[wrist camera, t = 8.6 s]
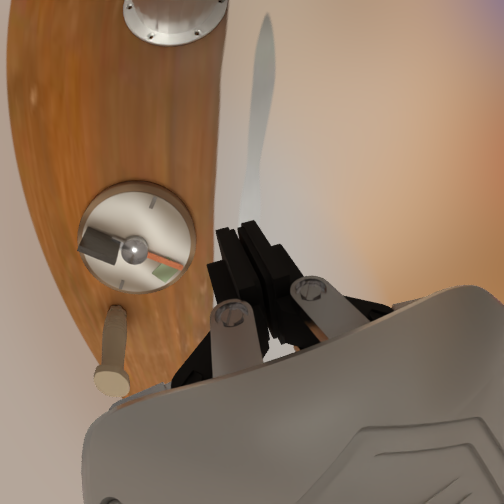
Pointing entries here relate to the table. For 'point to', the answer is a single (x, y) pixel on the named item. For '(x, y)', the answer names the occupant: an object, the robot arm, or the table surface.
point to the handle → (113, 355)
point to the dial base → (141, 235)
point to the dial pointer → (108, 248)
